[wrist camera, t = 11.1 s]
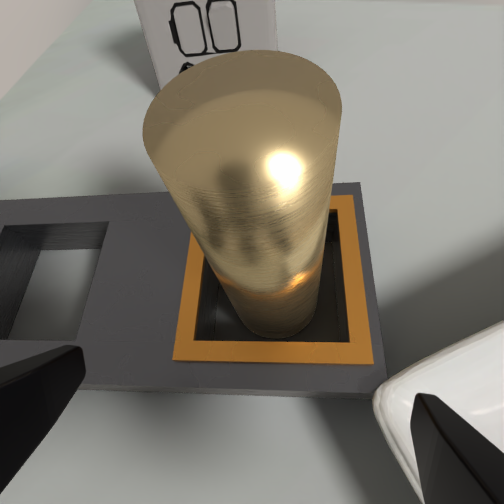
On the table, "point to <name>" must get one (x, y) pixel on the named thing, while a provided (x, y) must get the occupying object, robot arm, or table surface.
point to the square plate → (446, 394)
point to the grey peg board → (185, 302)
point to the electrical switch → (203, 31)
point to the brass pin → (252, 176)
